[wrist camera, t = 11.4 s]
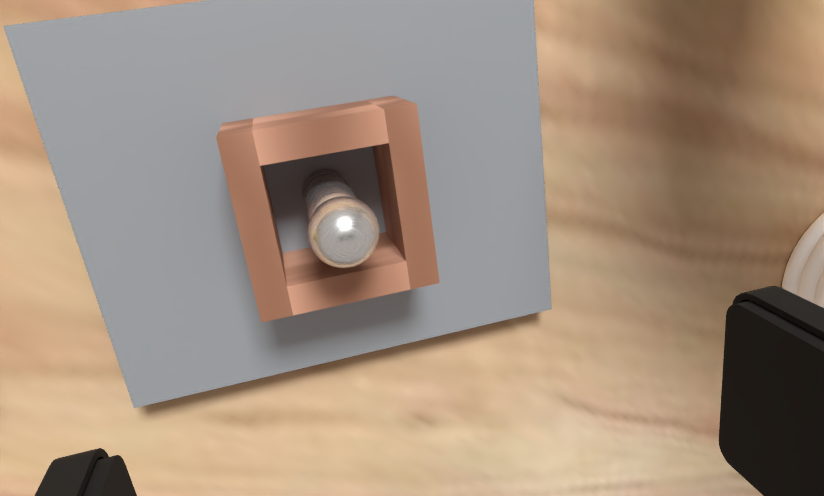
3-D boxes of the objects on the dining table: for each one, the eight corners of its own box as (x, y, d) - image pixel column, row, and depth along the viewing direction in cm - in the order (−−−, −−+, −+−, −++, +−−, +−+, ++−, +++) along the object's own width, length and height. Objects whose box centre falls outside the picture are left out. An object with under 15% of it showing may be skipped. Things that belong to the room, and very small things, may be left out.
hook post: (348, 159, 26) (380, 199, 19) (357, 213, 26) (390, 270, 20) (291, 169, 25) (303, 214, 19) (302, 224, 26) (318, 285, 19)
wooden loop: (393, 95, 25) (417, 103, 22) (415, 251, 28) (439, 282, 24) (222, 123, 24) (215, 137, 20) (260, 284, 26) (261, 322, 23)
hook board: (516, -36, 26) (531, -41, 25) (538, 297, 32) (551, 308, 30) (18, 27, 23) (3, 25, 21) (140, 390, 28) (134, 408, 27)
